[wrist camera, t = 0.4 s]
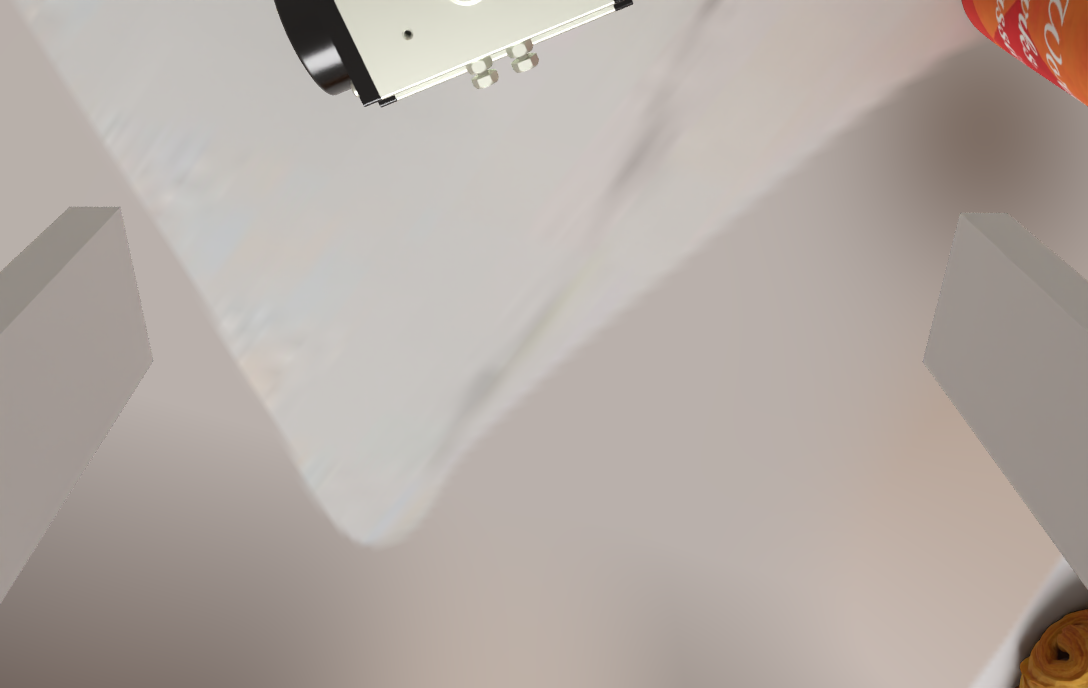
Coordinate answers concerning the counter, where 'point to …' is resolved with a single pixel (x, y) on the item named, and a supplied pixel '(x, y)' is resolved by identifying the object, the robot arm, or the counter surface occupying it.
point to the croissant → (1059, 655)
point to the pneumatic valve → (423, 40)
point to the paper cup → (1040, 36)
